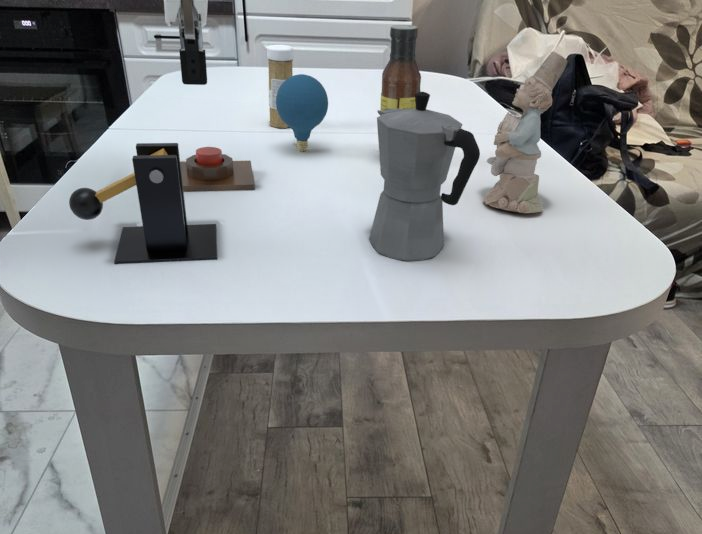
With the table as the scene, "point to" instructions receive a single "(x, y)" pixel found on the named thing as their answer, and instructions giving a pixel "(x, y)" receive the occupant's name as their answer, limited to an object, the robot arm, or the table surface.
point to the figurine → (523, 142)
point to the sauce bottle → (401, 70)
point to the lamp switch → (163, 213)
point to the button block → (217, 175)
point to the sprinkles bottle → (278, 77)
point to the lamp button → (209, 156)
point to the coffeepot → (417, 178)
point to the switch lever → (100, 195)
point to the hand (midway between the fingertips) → (195, 82)
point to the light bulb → (302, 106)
